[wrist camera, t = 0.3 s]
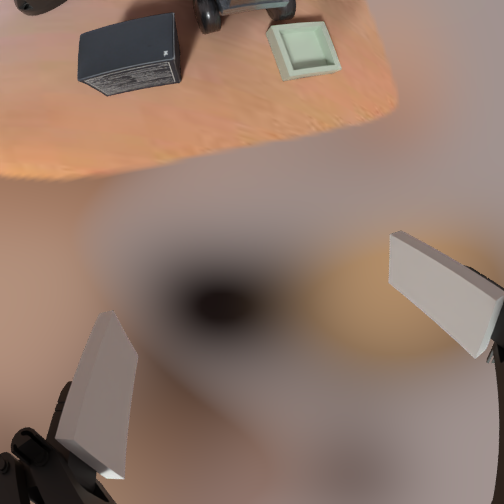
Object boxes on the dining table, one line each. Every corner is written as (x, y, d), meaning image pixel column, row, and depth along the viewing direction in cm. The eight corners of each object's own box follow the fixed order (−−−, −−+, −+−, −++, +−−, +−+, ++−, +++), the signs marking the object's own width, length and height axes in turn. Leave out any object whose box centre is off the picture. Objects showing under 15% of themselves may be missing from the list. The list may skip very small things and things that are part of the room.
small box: (180, 42, 28) (176, 8, 19) (181, 83, 31) (177, 60, 21) (105, 56, 27) (78, 31, 17) (105, 98, 29) (76, 83, 19)
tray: (265, 33, 30) (271, 25, 27) (315, 28, 30) (323, 21, 27) (282, 81, 33) (289, 76, 30) (332, 73, 33) (341, 69, 31)
